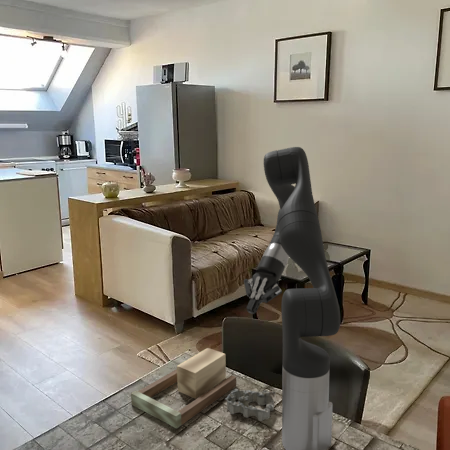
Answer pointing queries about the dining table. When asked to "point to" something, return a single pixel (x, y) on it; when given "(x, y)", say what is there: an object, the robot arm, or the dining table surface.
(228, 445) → the dining table surface
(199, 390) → the maple block
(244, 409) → the egg carton
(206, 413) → the dining table surface
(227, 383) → the wooden tray frame
